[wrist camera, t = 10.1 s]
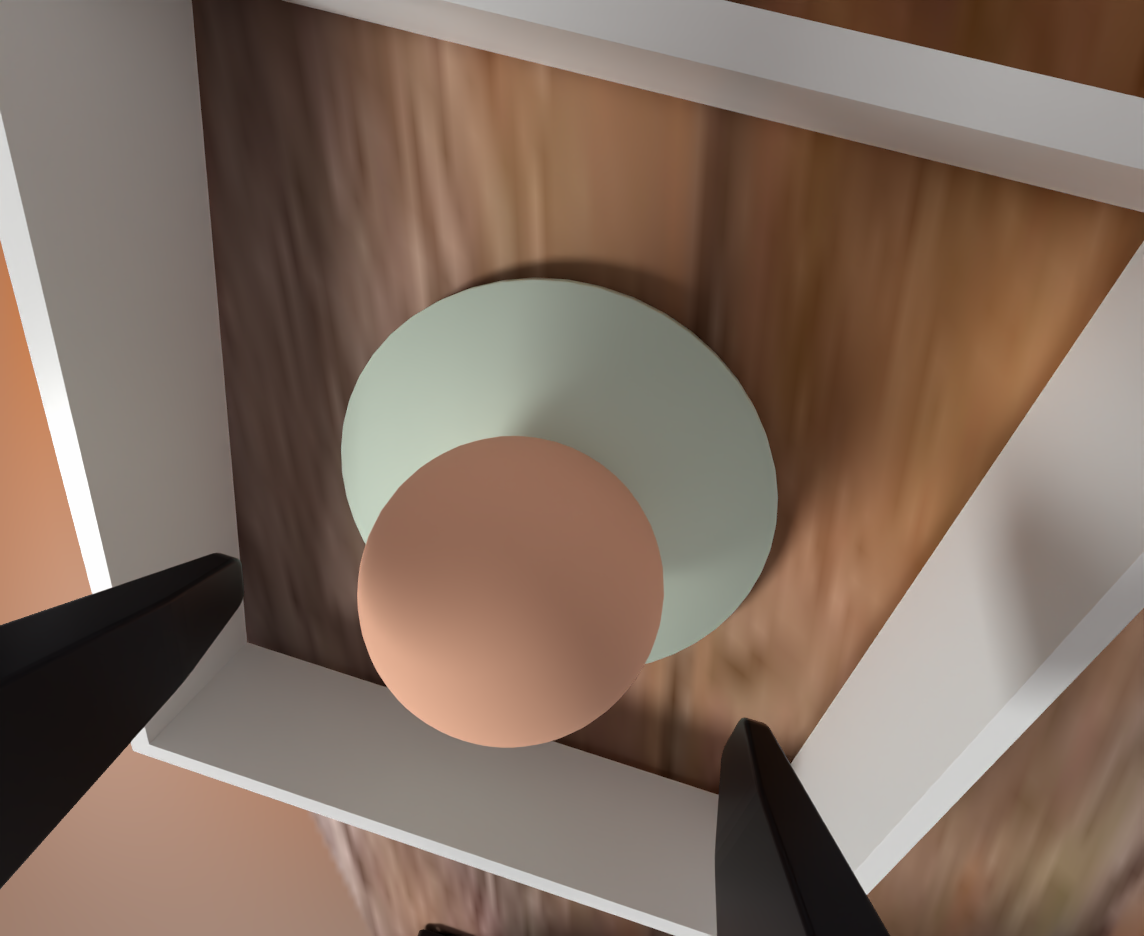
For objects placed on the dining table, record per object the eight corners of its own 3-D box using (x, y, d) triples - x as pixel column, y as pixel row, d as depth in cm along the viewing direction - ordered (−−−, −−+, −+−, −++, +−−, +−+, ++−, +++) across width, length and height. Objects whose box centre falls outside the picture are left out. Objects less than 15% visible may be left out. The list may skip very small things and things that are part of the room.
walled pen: (232, 649, 20) (132, 750, 16) (156, -71, 10) (-114, -197, 7) (771, 824, 19) (790, 975, 15) (1223, 186, 9) (1544, 191, 6)
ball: (422, 565, 16) (290, 760, 10) (446, 363, 13) (280, 491, 8) (631, 628, 15) (602, 861, 10) (702, 435, 13) (714, 620, 7)
